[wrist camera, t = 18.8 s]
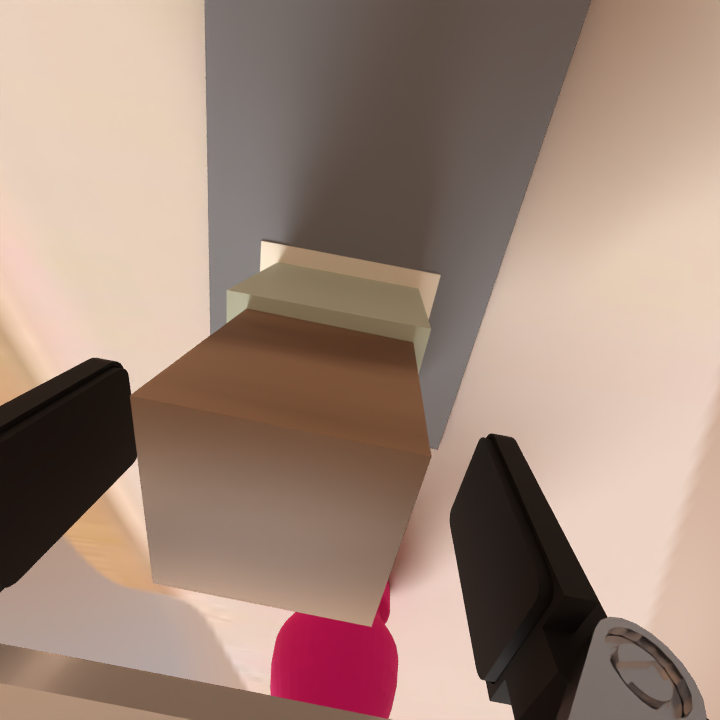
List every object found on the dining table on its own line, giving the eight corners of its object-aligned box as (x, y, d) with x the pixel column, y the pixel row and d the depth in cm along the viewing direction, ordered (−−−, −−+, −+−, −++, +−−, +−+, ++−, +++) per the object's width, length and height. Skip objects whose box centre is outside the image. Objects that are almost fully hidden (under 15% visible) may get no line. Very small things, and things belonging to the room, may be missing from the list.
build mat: (200, -862, 6) (185, -943, 6) (838, -744, 6) (871, -815, 6) (215, 402, 18) (210, 407, 18) (436, 444, 18) (438, 451, 18)
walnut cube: (246, 308, 10) (130, 395, 6) (413, 341, 10) (431, 456, 6) (241, 441, 12) (152, 583, 8) (378, 469, 12) (371, 626, 8)
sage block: (278, 261, 14) (226, 290, 10) (418, 288, 14) (431, 328, 10) (269, 384, 17) (226, 451, 12) (389, 407, 17) (388, 482, 12)
